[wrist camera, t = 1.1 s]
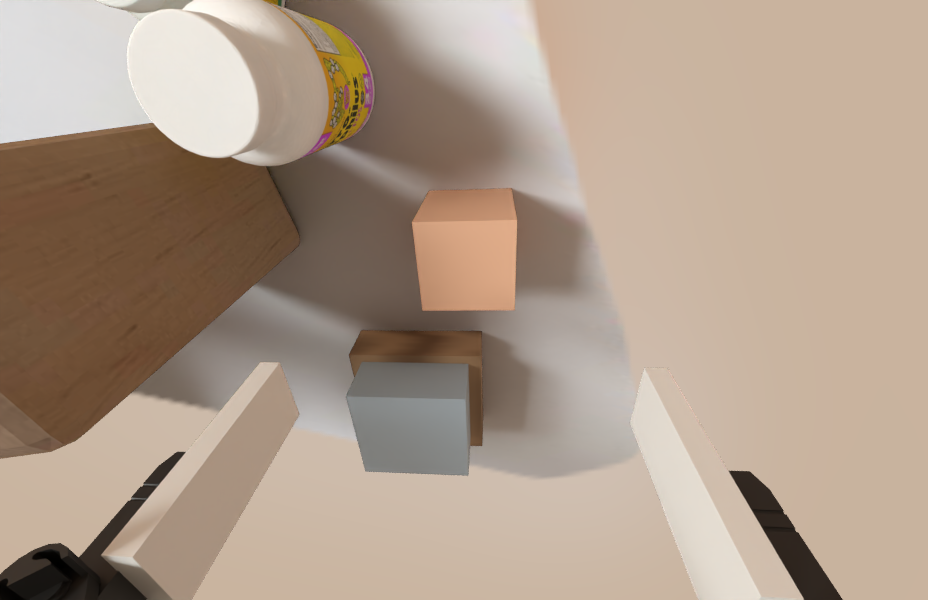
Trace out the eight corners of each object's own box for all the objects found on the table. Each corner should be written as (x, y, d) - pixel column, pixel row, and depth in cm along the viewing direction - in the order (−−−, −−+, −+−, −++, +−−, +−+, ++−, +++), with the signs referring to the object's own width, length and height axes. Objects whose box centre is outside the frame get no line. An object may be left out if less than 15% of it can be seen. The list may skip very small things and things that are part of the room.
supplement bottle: (343, 160, 27) (241, 219, 16) (259, 90, 25) (73, 101, 14) (398, 78, 24) (319, 80, 13) (307, -8, 22) (123, -93, 11)
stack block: (435, 264, 31) (422, 310, 25) (429, 190, 28) (411, 222, 22) (509, 263, 30) (514, 310, 24) (511, 188, 27) (517, 219, 21)
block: (309, 243, 30) (71, 461, 13) (204, 267, 32) (-128, 486, 15) (244, 108, 25) (-268, 173, 8) (124, 144, 27) (-502, 261, 10)
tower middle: (377, 434, 36) (365, 471, 33) (361, 361, 32) (346, 396, 28) (470, 437, 36) (468, 475, 32) (468, 363, 31) (465, 399, 28)
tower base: (380, 411, 40) (370, 442, 37) (362, 327, 35) (348, 354, 31) (483, 413, 40) (482, 445, 36) (481, 328, 34) (480, 356, 31)
